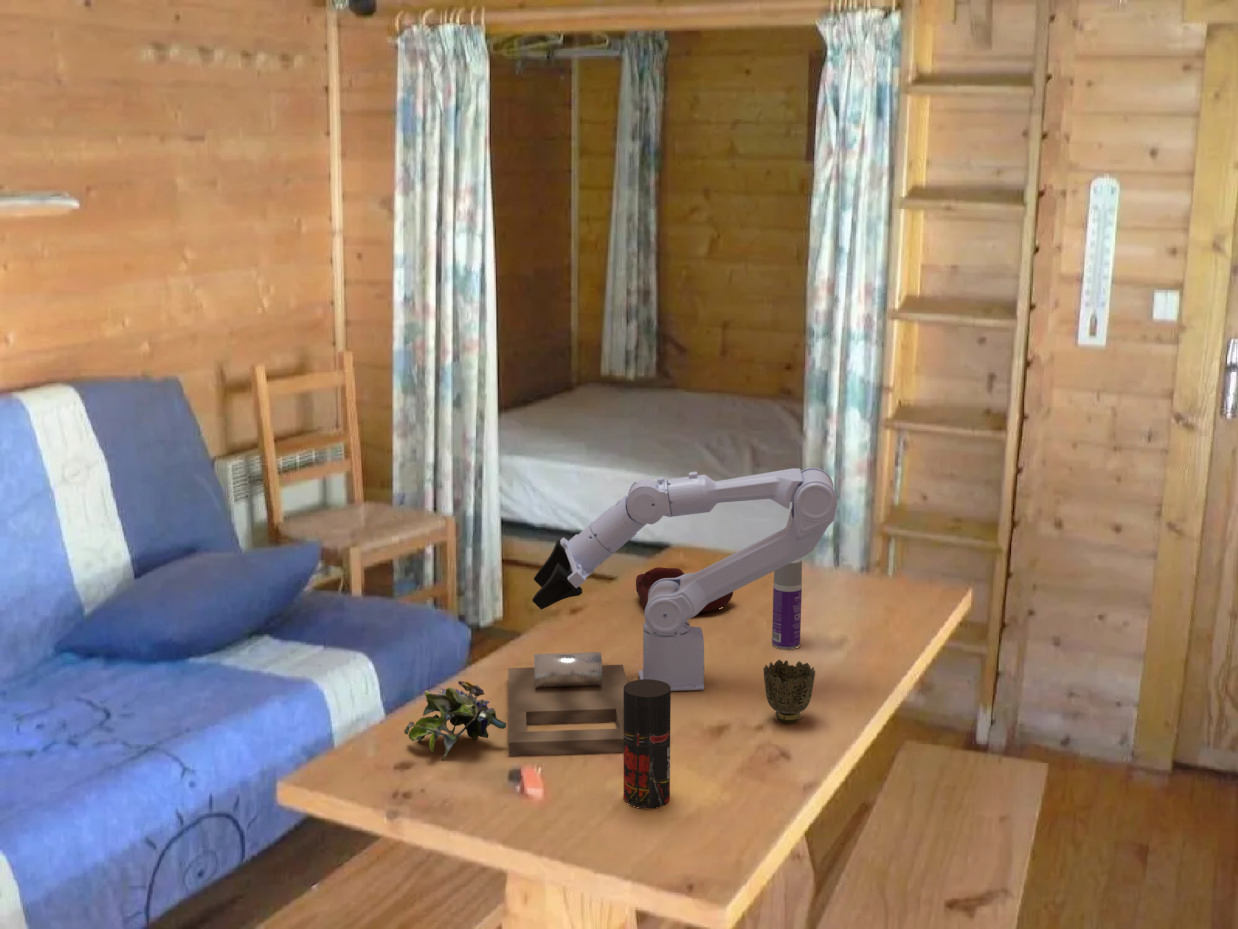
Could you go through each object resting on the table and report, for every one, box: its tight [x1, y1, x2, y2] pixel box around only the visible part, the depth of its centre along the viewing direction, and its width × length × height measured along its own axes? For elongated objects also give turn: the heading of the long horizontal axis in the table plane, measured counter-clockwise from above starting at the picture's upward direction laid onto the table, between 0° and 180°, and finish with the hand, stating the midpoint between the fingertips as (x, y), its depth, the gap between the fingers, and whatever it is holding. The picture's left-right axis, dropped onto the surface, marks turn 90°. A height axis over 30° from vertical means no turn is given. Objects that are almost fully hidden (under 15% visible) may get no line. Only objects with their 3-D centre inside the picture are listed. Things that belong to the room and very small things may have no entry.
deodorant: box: [623, 679, 672, 809], centre depth 174 cm, size 6×6×15 cm
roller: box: [533, 651, 603, 688], centre depth 207 cm, size 10×5×5 cm, turn 95°
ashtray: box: [635, 566, 734, 613], centre depth 249 cm, size 18×16×5 cm
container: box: [771, 558, 803, 650], centre depth 228 cm, size 5×5×15 cm
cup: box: [762, 659, 816, 725], centre depth 198 cm, size 8×7×8 cm
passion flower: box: [403, 680, 507, 761], centre depth 189 cm, size 11×11×12 cm
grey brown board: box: [507, 664, 628, 757], centre depth 202 cm, size 18×28×2 cm, turn 5°
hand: (537, 593), depth 212 cm, fingers open, 7 cm apart
